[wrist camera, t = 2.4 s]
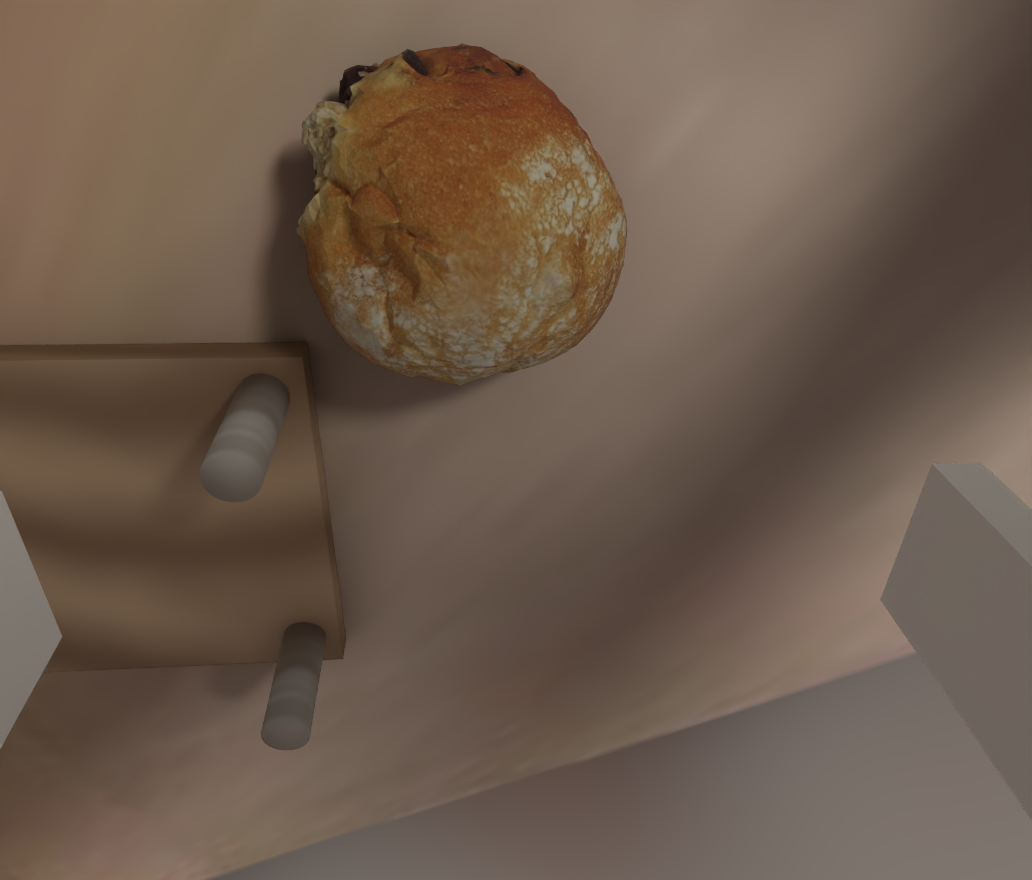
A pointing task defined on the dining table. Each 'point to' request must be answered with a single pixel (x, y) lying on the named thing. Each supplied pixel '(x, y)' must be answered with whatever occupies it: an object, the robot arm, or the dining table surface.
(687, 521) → the dining table surface
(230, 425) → the trivet
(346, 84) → the bread roll
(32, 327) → the dining table surface
